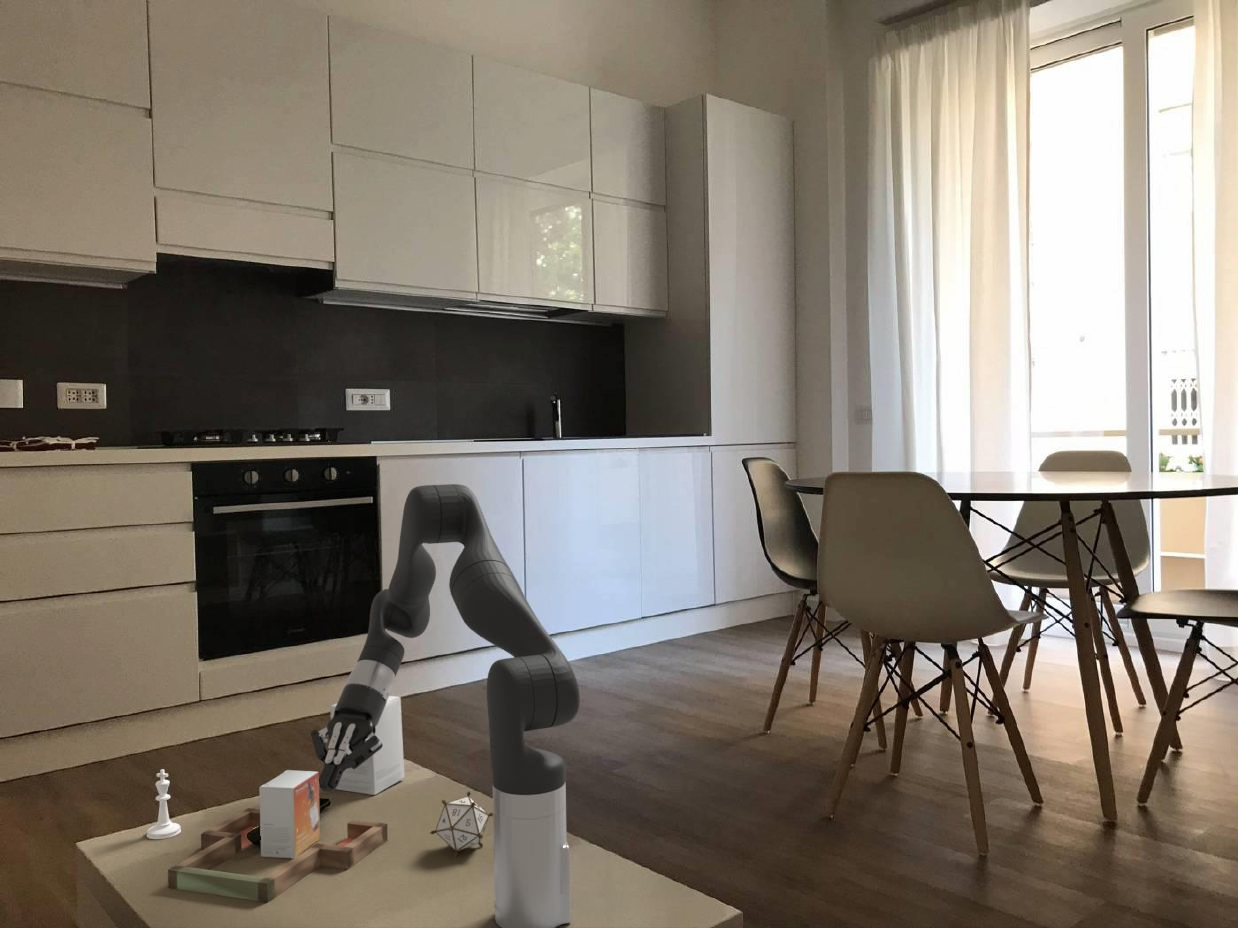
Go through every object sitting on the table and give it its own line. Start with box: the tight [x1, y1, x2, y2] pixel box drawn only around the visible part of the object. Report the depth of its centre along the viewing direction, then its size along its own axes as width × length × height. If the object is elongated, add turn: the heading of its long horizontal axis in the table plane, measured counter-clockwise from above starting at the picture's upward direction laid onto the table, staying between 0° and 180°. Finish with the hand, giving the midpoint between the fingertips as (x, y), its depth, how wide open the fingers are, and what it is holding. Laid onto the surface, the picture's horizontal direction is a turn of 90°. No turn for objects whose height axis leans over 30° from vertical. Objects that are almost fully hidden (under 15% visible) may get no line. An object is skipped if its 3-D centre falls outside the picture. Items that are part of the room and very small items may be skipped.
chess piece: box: [146, 769, 182, 840], centre depth 160 cm, size 5×5×10 cm
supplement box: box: [329, 695, 405, 796], centre depth 181 cm, size 9×9×15 cm
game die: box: [429, 790, 493, 858], centre depth 153 cm, size 9×8×10 cm
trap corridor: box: [167, 807, 389, 903], centre depth 149 cm, size 23×25×2 cm
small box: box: [258, 769, 321, 859], centre depth 154 cm, size 8×6×10 cm
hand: (325, 789), depth 163 cm, fingers closed
